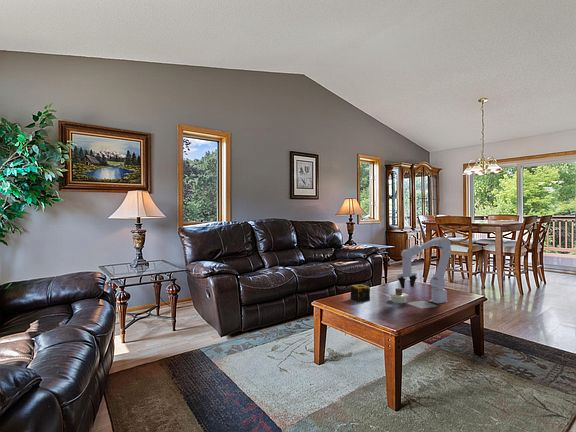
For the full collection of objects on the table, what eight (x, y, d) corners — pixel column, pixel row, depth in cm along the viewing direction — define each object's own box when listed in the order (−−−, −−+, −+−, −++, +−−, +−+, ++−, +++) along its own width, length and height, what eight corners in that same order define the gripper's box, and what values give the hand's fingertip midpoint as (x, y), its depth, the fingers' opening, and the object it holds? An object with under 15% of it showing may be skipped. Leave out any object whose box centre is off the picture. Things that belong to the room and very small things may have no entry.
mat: (422, 301, 221) (422, 300, 221) (438, 306, 208) (438, 306, 208) (406, 303, 216) (406, 302, 216) (421, 309, 203) (421, 308, 203)
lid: (400, 292, 228) (400, 286, 228) (412, 296, 217) (411, 289, 217) (385, 294, 224) (385, 287, 224) (397, 298, 213) (397, 291, 213)
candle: (350, 299, 230) (349, 285, 230) (362, 297, 234) (362, 283, 234) (358, 302, 221) (357, 288, 221) (370, 301, 224) (370, 286, 224)
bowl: (399, 299, 226) (399, 293, 226) (409, 303, 218) (409, 296, 218) (388, 301, 223) (388, 294, 223) (397, 304, 214) (397, 297, 214)
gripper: (402, 269, 213) (402, 289, 213) (419, 267, 218) (420, 287, 218) (395, 267, 220) (395, 287, 220) (412, 266, 224) (412, 285, 225)
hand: (407, 287), depth 219 cm, fingers open, 7 cm apart
